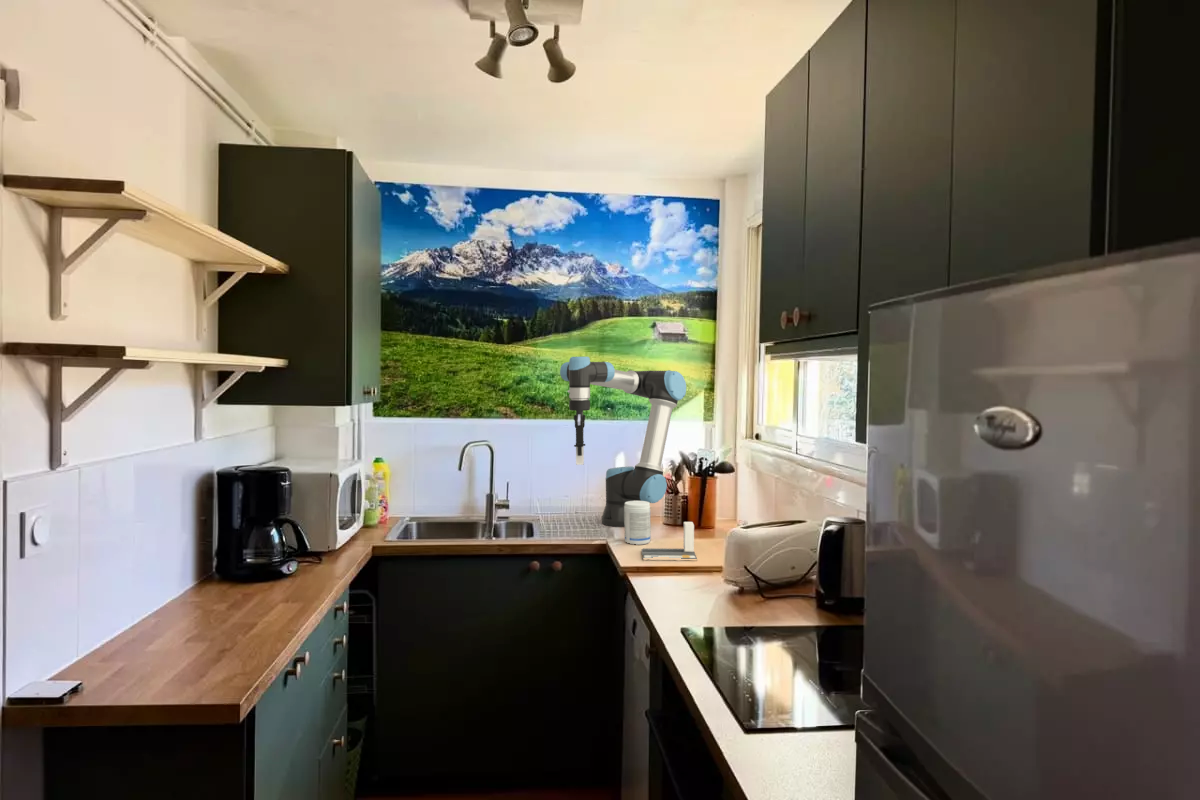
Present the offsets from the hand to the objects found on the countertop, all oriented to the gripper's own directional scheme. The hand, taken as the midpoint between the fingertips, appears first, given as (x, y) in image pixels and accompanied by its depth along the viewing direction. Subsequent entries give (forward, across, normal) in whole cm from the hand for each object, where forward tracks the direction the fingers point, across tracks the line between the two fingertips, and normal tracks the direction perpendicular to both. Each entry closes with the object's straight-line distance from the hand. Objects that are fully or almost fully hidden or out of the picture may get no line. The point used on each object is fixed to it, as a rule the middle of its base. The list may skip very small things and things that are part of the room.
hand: (579, 464), depth 264 cm
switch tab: (+29, +16, +38) cm, 50 cm away
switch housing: (+29, +16, +31) cm, 46 cm away
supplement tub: (+30, -3, +21) cm, 36 cm away
